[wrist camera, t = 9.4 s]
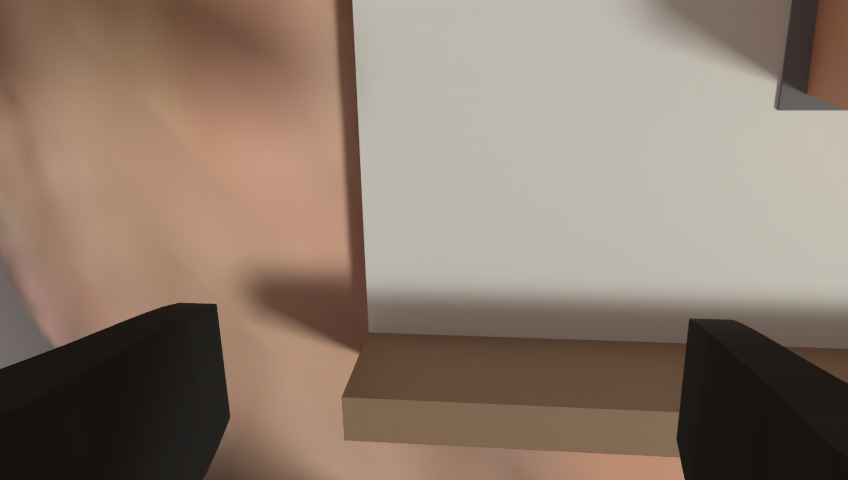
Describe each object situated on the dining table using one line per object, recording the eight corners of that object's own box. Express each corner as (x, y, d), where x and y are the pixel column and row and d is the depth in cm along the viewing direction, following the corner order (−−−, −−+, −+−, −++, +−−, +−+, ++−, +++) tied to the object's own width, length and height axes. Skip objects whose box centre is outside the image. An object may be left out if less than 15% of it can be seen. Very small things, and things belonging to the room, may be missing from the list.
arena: (1117, 388, 20) (1260, 486, 16) (374, 360, 22) (344, 440, 18) (1348, -332, 15) (1643, -441, 11) (344, -271, 17) (294, -343, 13)
